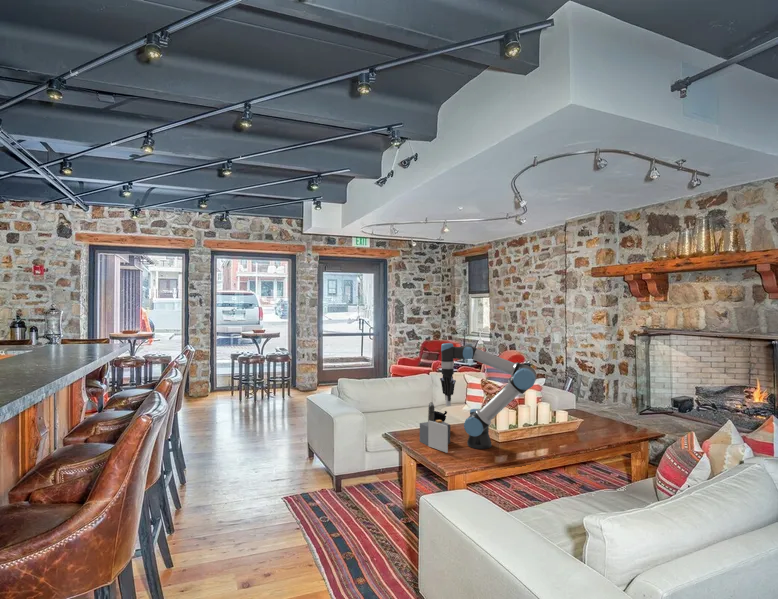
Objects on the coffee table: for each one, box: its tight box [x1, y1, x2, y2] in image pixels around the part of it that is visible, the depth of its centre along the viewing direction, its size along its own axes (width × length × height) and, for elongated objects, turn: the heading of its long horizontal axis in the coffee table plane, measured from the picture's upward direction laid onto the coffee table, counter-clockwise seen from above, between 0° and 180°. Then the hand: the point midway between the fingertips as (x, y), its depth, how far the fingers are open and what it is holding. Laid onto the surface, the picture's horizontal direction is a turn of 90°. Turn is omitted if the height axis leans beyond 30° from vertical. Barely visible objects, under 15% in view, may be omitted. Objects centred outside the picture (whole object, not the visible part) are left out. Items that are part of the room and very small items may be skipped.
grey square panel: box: [427, 420, 449, 454], centre depth 287 cm, size 16×1×16 cm, turn 39°
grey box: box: [419, 420, 451, 447], centre depth 303 cm, size 12×18×13 cm
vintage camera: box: [427, 401, 452, 430], centre depth 328 cm, size 10×16×20 cm, turn 89°
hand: (448, 405), depth 291 cm, fingers closed
